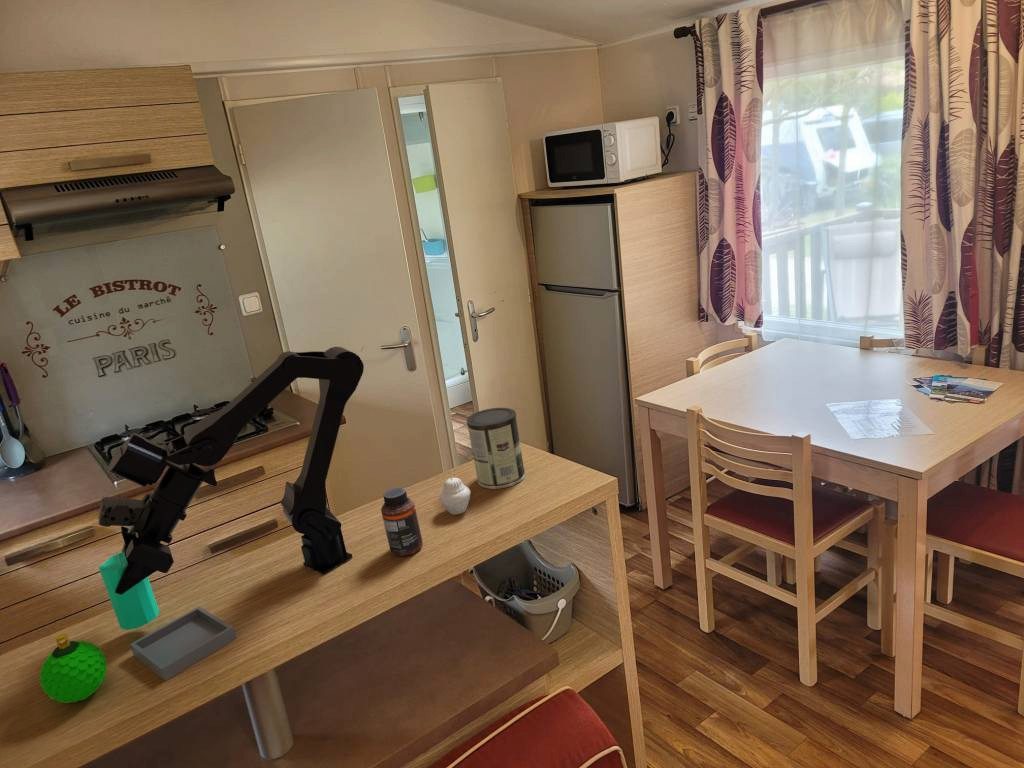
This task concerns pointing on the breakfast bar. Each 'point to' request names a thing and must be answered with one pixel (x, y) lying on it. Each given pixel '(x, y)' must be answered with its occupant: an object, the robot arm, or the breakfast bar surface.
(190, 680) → the breakfast bar surface
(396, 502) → the supplement bottle
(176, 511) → the robot arm
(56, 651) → the ornament
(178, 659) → the tray
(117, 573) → the candle
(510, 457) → the coffee can
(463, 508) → the muffin
